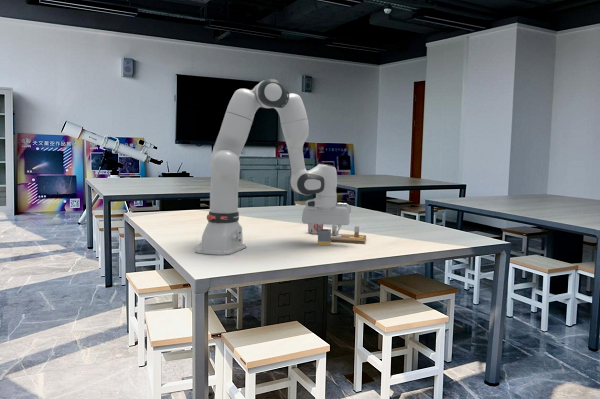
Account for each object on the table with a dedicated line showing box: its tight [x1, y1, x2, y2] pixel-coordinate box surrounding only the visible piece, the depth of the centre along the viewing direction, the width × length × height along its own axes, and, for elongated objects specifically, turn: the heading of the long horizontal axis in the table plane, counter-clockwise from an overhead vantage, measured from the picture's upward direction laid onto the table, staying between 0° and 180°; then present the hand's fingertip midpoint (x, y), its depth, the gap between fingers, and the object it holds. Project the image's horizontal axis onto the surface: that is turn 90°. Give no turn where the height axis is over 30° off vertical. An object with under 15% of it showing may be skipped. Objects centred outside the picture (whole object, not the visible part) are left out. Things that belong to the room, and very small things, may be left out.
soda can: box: [307, 224, 324, 235], centre depth 236 cm, size 7×7×13 cm
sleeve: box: [317, 228, 332, 246], centre depth 212 cm, size 5×5×6 cm
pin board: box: [331, 225, 367, 245], centre depth 222 cm, size 14×18×6 cm
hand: (325, 234), depth 212 cm, fingers open, 8 cm apart
